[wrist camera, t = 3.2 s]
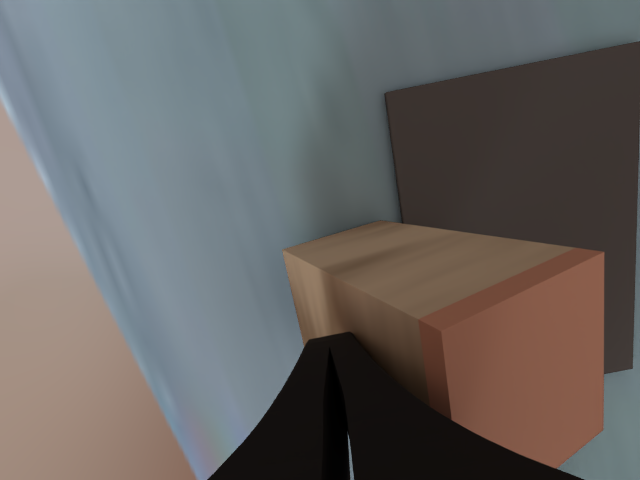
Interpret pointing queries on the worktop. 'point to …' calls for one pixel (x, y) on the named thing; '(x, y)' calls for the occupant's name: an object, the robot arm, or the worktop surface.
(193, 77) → the worktop surface
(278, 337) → the worktop surface
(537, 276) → the maple block
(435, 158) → the rubber mat
